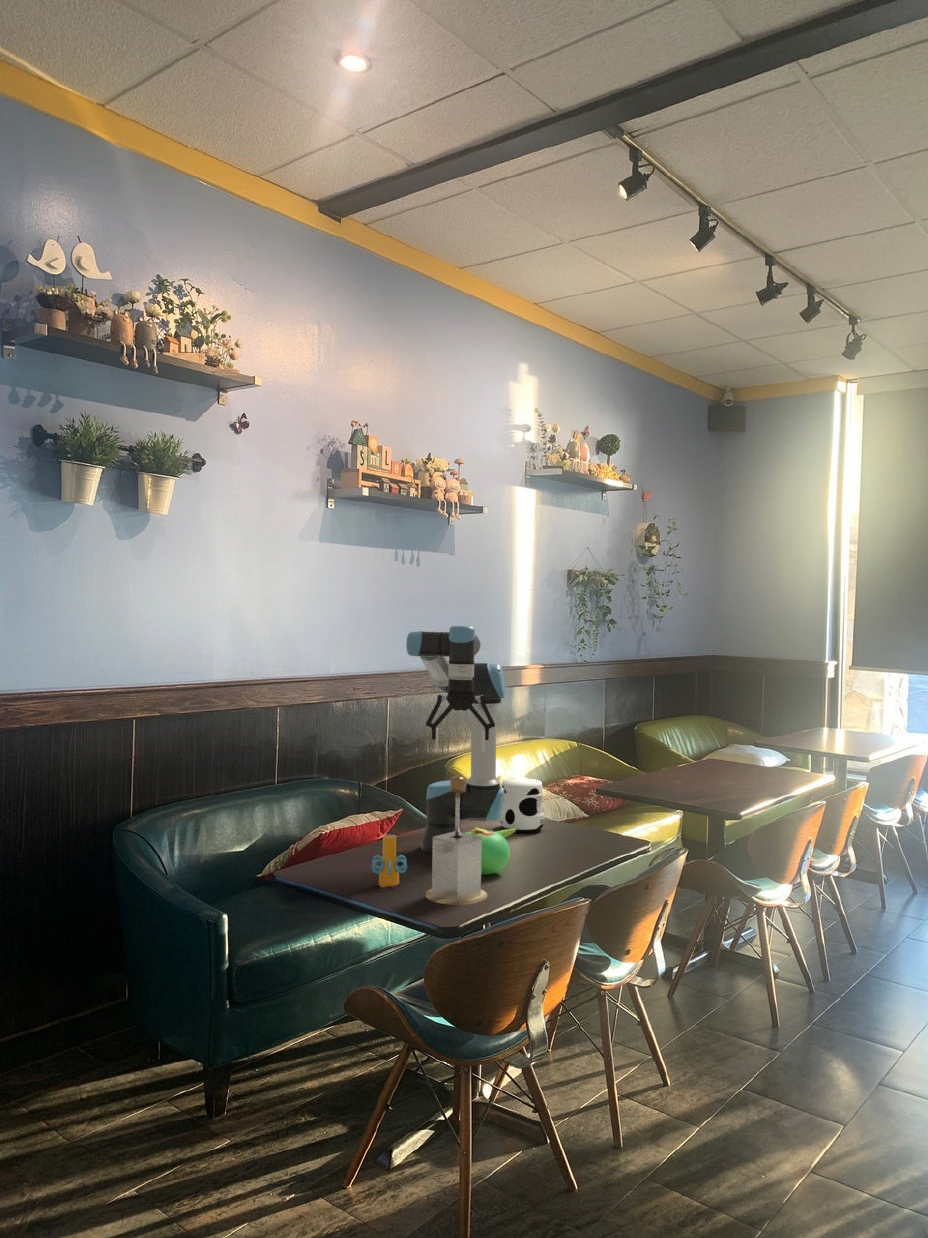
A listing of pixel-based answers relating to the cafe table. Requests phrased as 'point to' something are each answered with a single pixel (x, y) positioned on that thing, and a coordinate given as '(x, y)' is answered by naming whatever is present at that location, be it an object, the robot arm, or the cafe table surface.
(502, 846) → the toy bird
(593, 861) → the cafe table surface
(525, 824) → the milk container
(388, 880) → the cylinder
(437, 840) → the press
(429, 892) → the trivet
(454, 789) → the plunger
